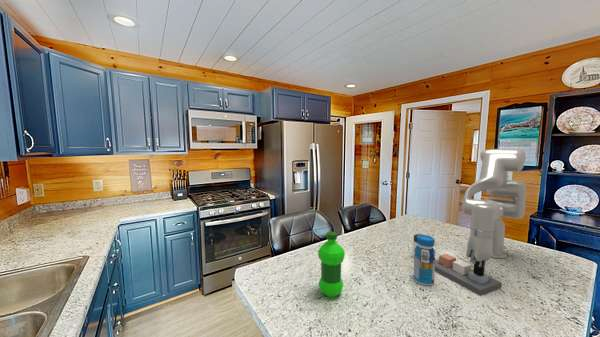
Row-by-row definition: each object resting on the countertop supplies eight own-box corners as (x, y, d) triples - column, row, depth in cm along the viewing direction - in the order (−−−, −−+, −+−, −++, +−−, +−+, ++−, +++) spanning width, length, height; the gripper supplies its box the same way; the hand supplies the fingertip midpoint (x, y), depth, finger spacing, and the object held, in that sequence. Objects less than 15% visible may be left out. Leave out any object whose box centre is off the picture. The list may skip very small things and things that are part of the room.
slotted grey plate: (447, 262, 119) (447, 257, 119) (501, 288, 97) (501, 282, 97) (427, 267, 114) (427, 262, 114) (479, 295, 92) (480, 289, 92)
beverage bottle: (408, 277, 105) (410, 235, 103) (421, 274, 108) (423, 232, 106) (425, 288, 97) (427, 242, 95) (438, 283, 100) (441, 239, 99)
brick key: (445, 261, 115) (446, 253, 115) (455, 266, 111) (456, 258, 110) (438, 263, 113) (439, 255, 113) (448, 268, 109) (448, 259, 109)
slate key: (475, 278, 102) (476, 270, 102) (488, 285, 98) (488, 276, 97) (468, 281, 101) (468, 272, 100) (480, 287, 96) (481, 278, 96)
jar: (424, 263, 118) (425, 241, 117) (409, 257, 125) (410, 236, 124) (433, 259, 123) (434, 237, 122) (418, 253, 129) (419, 232, 128)
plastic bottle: (317, 285, 99) (317, 228, 97) (341, 286, 98) (343, 229, 96) (318, 300, 89) (319, 238, 87) (345, 301, 88) (347, 238, 86)
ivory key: (459, 268, 109) (460, 259, 108) (471, 273, 104) (471, 264, 104) (452, 270, 107) (453, 261, 107) (463, 275, 102) (464, 266, 102)
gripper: (483, 228, 103) (480, 267, 105) (460, 232, 98) (457, 273, 100) (502, 233, 96) (499, 275, 98) (479, 238, 91) (476, 282, 93)
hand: (478, 274), depth 99 cm, fingers closed
